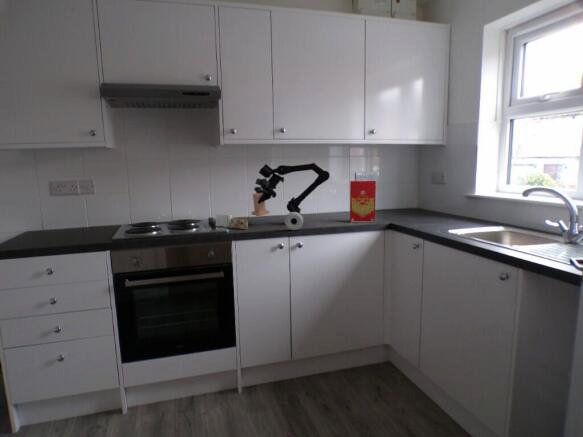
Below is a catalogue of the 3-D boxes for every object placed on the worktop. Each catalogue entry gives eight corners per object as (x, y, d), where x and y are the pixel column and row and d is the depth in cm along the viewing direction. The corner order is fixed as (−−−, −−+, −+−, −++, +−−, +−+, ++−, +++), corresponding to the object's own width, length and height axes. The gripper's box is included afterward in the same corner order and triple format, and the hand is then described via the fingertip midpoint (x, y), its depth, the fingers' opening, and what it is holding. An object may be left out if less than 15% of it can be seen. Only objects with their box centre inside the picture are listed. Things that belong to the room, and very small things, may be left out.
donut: (303, 229, 202) (303, 211, 200) (303, 230, 198) (303, 212, 197) (284, 229, 201) (284, 211, 200) (284, 230, 198) (284, 212, 197)
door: (230, 227, 209) (229, 218, 208) (232, 226, 211) (232, 218, 210) (244, 229, 201) (244, 220, 200) (247, 229, 203) (247, 220, 202)
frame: (216, 226, 213) (215, 214, 212) (218, 226, 215) (218, 214, 214) (231, 227, 210) (230, 215, 209) (233, 226, 212) (232, 214, 211)
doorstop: (261, 211, 222) (259, 192, 219) (269, 213, 216) (267, 193, 213) (251, 214, 217) (249, 194, 214) (258, 216, 212) (256, 195, 209)
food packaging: (350, 222, 226) (350, 181, 222) (349, 221, 231) (350, 180, 227) (374, 222, 225) (375, 181, 221) (373, 221, 230) (374, 180, 226)
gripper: (256, 173, 222) (240, 192, 218) (271, 173, 206) (254, 194, 202) (268, 185, 227) (252, 205, 223) (283, 187, 212) (267, 207, 207)
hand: (256, 202), depth 214 cm, fingers closed on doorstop, 5 cm apart
